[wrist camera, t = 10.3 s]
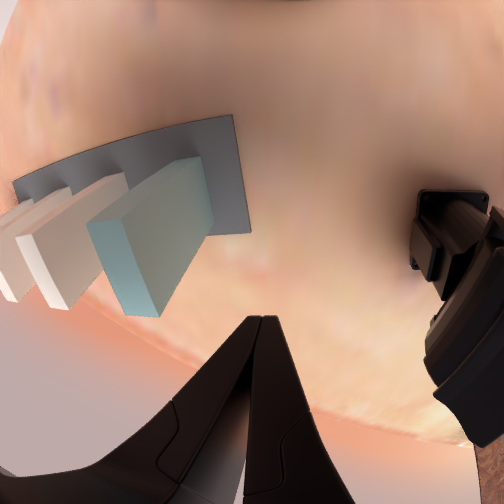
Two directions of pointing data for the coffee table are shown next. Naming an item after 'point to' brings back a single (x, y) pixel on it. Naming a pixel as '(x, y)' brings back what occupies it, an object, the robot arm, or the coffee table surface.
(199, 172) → the teal domino
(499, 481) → the book
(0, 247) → the ivory domino
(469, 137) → the coffee table surface
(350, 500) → the robot arm
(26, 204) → the ivory end domino
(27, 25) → the coffee table surface
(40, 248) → the ivory domino
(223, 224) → the mat
